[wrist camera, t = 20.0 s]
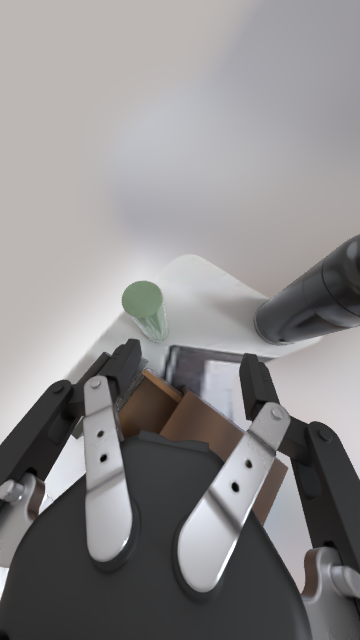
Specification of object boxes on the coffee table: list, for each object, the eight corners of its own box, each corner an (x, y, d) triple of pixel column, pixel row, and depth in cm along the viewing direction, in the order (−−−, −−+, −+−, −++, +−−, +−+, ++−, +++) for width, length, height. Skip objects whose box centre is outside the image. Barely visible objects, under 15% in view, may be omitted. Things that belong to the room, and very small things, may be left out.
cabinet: (136, 456, 28) (118, 496, 19) (184, 385, 32) (188, 390, 23) (210, 524, 26) (229, 604, 17) (254, 438, 29) (288, 468, 20)
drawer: (75, 400, 29) (44, 409, 22) (124, 342, 33) (110, 334, 26) (159, 475, 27) (152, 512, 20) (203, 403, 30) (212, 414, 23)
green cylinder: (155, 316, 35) (139, 273, 20) (172, 328, 35) (170, 294, 19) (141, 333, 34) (112, 302, 19) (159, 346, 33) (144, 325, 18)
